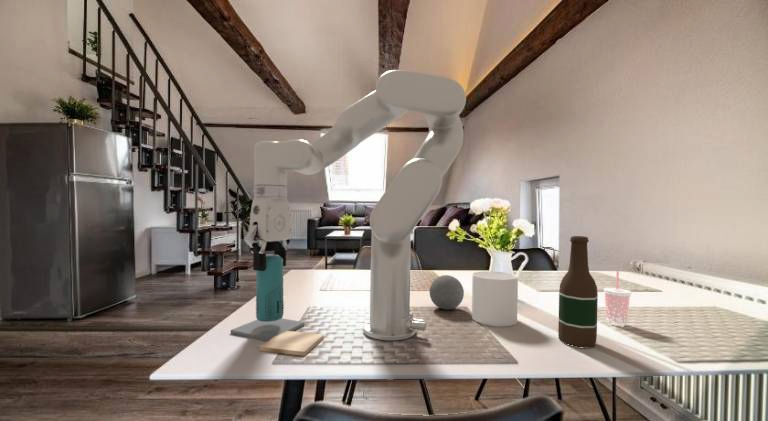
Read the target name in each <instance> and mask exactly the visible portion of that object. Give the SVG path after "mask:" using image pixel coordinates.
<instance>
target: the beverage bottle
mask: <svg viewBox="0 0 768 421" xmlns="http://www.w3.org/2000/svg"><path fill="white" fill-rule="evenodd" d="M275 250H279V247H278V242H277V241H273V242H267V244H266V247H265V250H264V252H267V251H268V252H272V251H275ZM255 271H256V274H255V275H256V276H255V277H256V278H255V280H256V283H255V284H256V286H255V294H256V295H255V302H256V303H255V317H256V320H259V321H263V322H270V321H276V320H279V319H281V318H282V319H283V317H284V313H285V311H284V310H285V306H284V305H285V303H284V296H285V294H284V293H285V292H284V266H283V258H282V257H280V256H279V255H275V254H272V253H271V254H270V253H269V254H266V270H265V271H257V270H255Z"/></svg>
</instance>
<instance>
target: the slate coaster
mask: <svg viewBox="0 0 768 421" xmlns="http://www.w3.org/2000/svg"><path fill="white" fill-rule="evenodd" d="M304 326H305V322H304V321H299V320H293V319H287V318H283V317H282V318H281V319H279V320H276V321H270V322H263V321H259V320H257V319H255V320H253V321H250V322H247V323H244V324H242V325H240V326H238V327H235V328H232V329H230V334H231V335H236V336H240V337H247V338H251V339H256V340H262V341H265V342H267V341H269V340H270V339H272V338H273V337H275V336H276V335H278V334H281V333H283V332H285V331H294V332H295V331H296V330H298V329H300V328H302V327H304Z"/></svg>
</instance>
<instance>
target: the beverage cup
mask: <svg viewBox="0 0 768 421" xmlns="http://www.w3.org/2000/svg"><path fill="white" fill-rule="evenodd" d="M619 275H620V272H619V271H618V270H617V271H616V277H615V278H616V282H615V285H616V286H615V287H604V288H603V293H604V304H605V321H606V320H607V321H608V322H611V323H615V324H627V325H628V319H629V308H630V297H631V296H632V291H631V290H628V289H626V288H625V289H623V288H619V282H620V281H619V279H620V278H619V277H620V276H619Z"/></svg>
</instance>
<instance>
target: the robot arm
mask: <svg viewBox="0 0 768 421" xmlns="http://www.w3.org/2000/svg"><path fill="white" fill-rule="evenodd" d="M466 102H467V94H466V91H465V88H464V87H463V86H462V85H461V83H460V82H458V81H457V80H455V79H452V78H450V77H445V76H439V75H434V74H428V73H423V72H418V71H417V72H416V71H411V70H404V69H393V70H388V71H386V72H384V73H383V74H382V75H380V76H379V77H378V79H377V81H376V84H375V90H373V91H371V92H370V93H369V94H367V95H365V96H364V97H362V98H361V99H359V100H358V101H355V103H353V104H350V105H349V106H347V107H346V108H344V109H343V110H342V111H341V112H339V115H338V117H337V119H336V120H335V121H334V122H335V123H334V124H333V126H332V127H331V128H330V129H329V130H328V131H327V132H326V133H325V134H323V135H322V136H320V137H319V138H317V139H316V140H314V141H313V142H311V143H310V142H309V141H307V140H304V139H290V140H284V141H275V140H261V141H258V142H257V143H255V145H254V151H253V152H254V153H253V154H254V156H253V158H254V159H253V162H254V163H253V164H254V169H253V170H254V171H253V173H254V175H253V177H254V178H253V189H252V193H253V199H252V203H251V209H250V218H249V231H248V232H246V235H245V236H244V238H243V240H244V242H245V243H246V245H247V246H248V248H249V249H250V250H251V251H250V252H251V254H253V256H252V257H253V258H252V260H253V263H252V267H253V270H254V271H256V270H257V271H265V270H266V255H267V253H265V251H264V250H265V247H266V244H267V242H273V241H277V242H278V247H279V250H275V251H274V252H273V253H274V254H275V255H279V256H280V257H282V258H283V267H286V265H287V250H288V249H289V245H290V243H291V239H292V237H293V235H294V234H293V231H292V216H291V207H290V201H289V199H288V171H289V172H290V171H292V172H294V173H300V174H302V175H306V176H310V175H311V176H312V175H315V174H318V173H319V172H321V171H323V170H324V169H326V168H328V167H329V166H331V165H333V164H334V163H336V162H337V161H339V160H340V159H341V158H343V157H345V155H347V154H348V153H349V152H351V151H352V150H354V149H355V148H356V147H358V146H359V145H360V144H361V143H362V142H364V141H365V140H366V139H368V138H370V137H371V136H373V135H375V134H376V133H378V132H379V131H381V130H383V129H384V128H386V127H387V126H389V125H391V124H392V123H394V122H396V121H397V120H399V119H401V117H403V116H404V115H405V114H407V113H408V112H413V113H419V114H423V117H424V120H425V121H426V123H427V126H428V134H427V136H426V138H425V140H424V141H423V142H422V144H421V145H420V147H419V149H418V150H417V151H416V153H415V154H414V156H413V157H412V158H411V160H409V161H407V162H406V163H405V164H404V165H403V166H402V167H401V169H400V170H399V171H398V173H397V174H396V176H395V177H394V179H393V180H392V181H391V183H390V184H389V186H388V187H387V188H386V190H385V192H384V193H383V195H382V196H380V199H379V200H378V201H377V202H376V204H375V205H374V208H373V209H372V211H371V212H370V215H369V226H370V227H369V228H370V229H371V239H370V240H371V242H370V284H369V285H370V287H369V288H370V291H369V292H370V293H369V296H370V298H369V321H368V322H366V323H365V324H364V325H363V330H362V332H363V333H364V335H366V336H367V337H369V338H372V339H375V340H378V341H379V340H380V341H391V342H392V341H403V340H406V339H410V338H411V337H414V335H416V333H417V331H422V332H426V330H427V322H425V320H424V319H418V318H415V317H414V312H413V311H411V310H410V305H411V304H410V303H411V302H410V301H411V300H410V299H411V298H410V296H411V258H412V257H411V254H412V253H411V250H412V249H411V240H412V238H411V237H412V236H411V233H412V232H413V230H414V229H415V228H416V226H417V225H418V223H419V222H420V221H421V219H422V218H423V216H424V215H425V214H426V213H427V211H428V209H429V207H431V205H432V203H434V201H435V199H436V198H437V196H438V194H439V192H440V191H441V189H442V186H443V185H442V184H443V178H444V176H445V175H446V174H447V172H448V170H449V169H450V167H451V166H452V164H453V162H454V161H455V159H456V158H457V156H458V154H459V152H460V151H461V148H462V146H463V142H464V127H463V123H462V120H461V117H460V114H462V112H463V110H464V109H465V106H466V104H467V103H466Z"/></svg>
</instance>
